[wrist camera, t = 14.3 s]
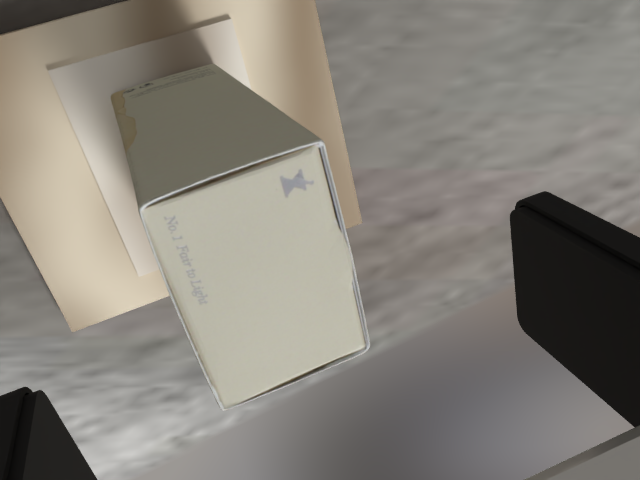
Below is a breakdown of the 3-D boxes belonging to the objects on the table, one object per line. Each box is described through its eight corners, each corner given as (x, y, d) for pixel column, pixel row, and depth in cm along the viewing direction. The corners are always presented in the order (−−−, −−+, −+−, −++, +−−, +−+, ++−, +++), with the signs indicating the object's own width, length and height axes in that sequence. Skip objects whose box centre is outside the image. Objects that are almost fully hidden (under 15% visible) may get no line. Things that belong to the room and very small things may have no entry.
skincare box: (107, 92, 22) (121, 195, 12) (219, 59, 23) (326, 128, 12) (164, 236, 25) (215, 421, 15) (261, 201, 26) (376, 354, 15)
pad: (297, -46, 24) (306, -47, 22) (354, 215, 29) (364, 224, 28) (-69, 52, 21) (-77, 56, 20) (73, 320, 26) (72, 334, 25)
